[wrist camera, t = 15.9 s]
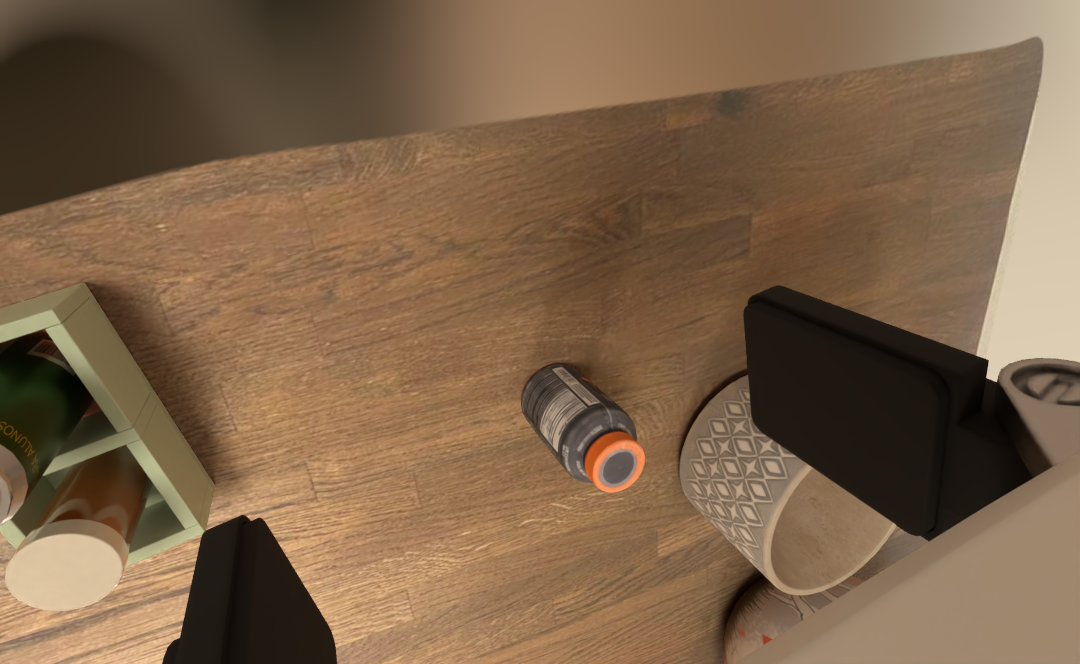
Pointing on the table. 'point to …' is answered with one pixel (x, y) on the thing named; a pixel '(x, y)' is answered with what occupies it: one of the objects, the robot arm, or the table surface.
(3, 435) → the guarana soda can
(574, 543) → the table surface
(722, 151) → the table surface
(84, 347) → the divided tray
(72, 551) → the spice jar
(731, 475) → the planter
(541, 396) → the pill bottle
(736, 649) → the vase
